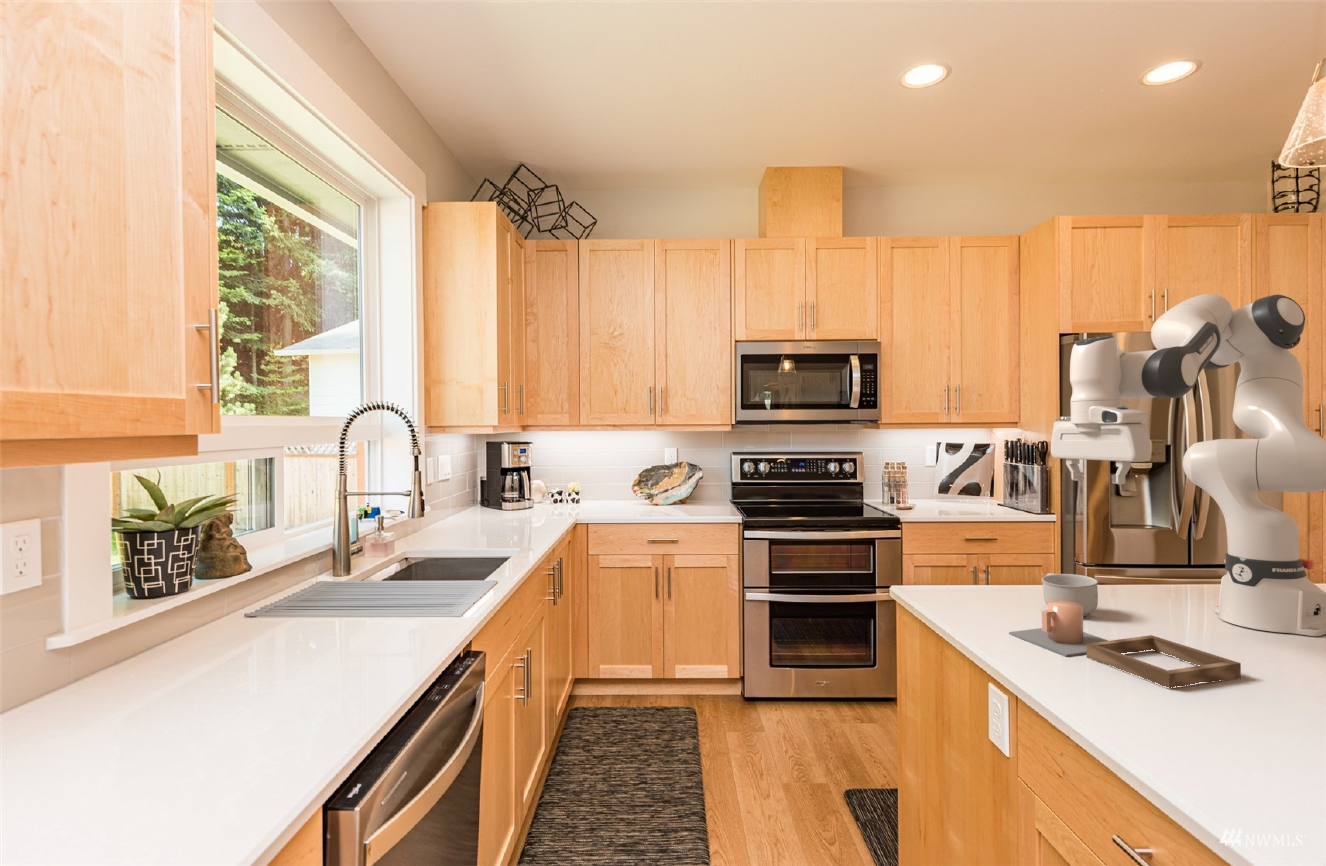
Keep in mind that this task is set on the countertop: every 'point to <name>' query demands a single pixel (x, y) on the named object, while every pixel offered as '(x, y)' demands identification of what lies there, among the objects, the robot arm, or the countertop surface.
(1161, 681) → the tray
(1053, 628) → the mug
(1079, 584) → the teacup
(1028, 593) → the countertop surface
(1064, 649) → the coaster
